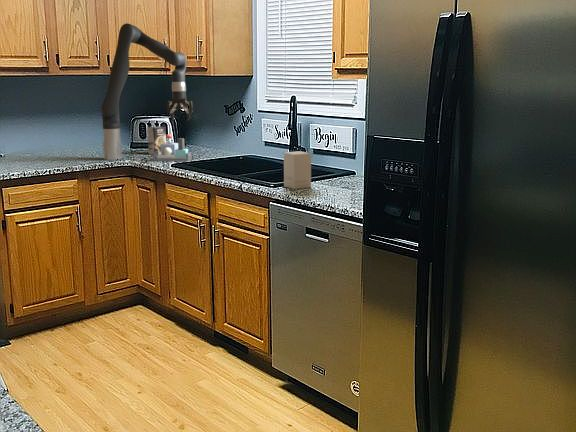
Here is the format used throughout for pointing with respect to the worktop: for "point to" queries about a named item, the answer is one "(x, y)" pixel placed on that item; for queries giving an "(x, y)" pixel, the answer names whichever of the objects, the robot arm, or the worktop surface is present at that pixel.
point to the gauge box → (168, 148)
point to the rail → (188, 157)
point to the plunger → (169, 138)
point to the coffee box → (156, 139)
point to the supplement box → (297, 169)
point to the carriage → (181, 149)
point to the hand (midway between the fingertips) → (180, 120)
